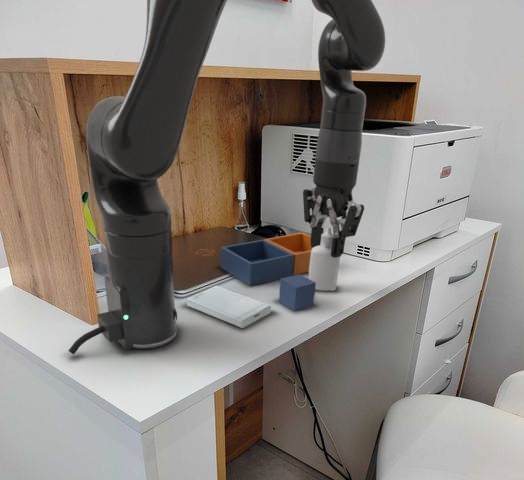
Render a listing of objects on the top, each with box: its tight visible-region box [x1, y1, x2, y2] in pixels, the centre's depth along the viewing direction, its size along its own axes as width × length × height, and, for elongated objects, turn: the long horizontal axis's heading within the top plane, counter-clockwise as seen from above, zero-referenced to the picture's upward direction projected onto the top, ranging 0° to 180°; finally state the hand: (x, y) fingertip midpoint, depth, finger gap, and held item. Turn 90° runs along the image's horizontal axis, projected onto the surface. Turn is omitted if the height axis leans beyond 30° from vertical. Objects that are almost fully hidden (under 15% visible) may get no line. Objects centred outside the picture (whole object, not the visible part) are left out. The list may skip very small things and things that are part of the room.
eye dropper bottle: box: [307, 226, 341, 292], centre depth 94 cm, size 4×6×12 cm
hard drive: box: [186, 285, 272, 329], centre depth 86 cm, size 2×8×12 cm
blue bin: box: [220, 239, 294, 287], centre depth 101 cm, size 11×11×4 cm
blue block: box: [278, 274, 316, 312], centre depth 89 cm, size 4×4×4 cm
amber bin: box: [264, 231, 312, 276], centre depth 107 cm, size 11×11×4 cm
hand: (325, 251), depth 93 cm, fingers closed on eye dropper bottle, 5 cm apart
